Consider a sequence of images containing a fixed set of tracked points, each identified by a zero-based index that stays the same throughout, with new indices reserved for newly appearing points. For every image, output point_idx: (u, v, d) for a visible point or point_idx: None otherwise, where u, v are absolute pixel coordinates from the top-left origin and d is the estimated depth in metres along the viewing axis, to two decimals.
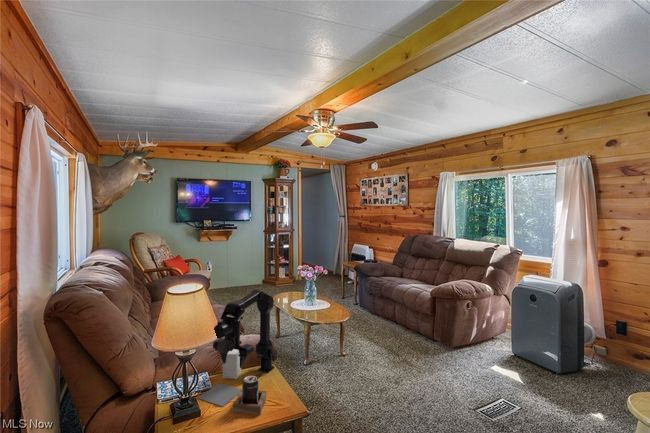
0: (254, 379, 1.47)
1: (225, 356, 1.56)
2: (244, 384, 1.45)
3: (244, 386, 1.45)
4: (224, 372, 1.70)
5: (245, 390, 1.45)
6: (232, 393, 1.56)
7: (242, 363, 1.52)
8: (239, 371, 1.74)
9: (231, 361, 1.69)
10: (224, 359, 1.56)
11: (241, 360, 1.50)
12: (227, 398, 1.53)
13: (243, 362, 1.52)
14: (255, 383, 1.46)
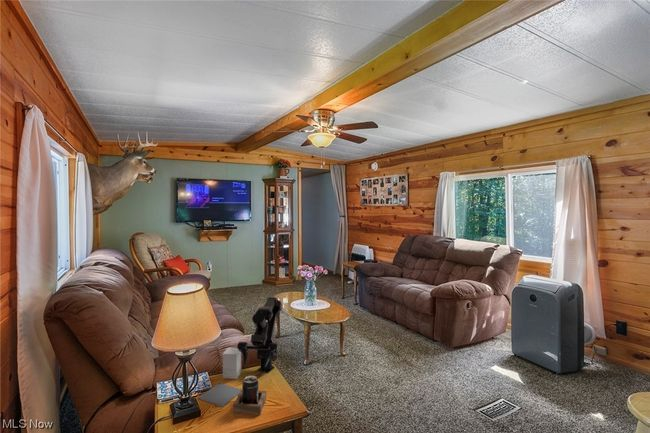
0: (254, 379, 1.47)
1: (246, 359, 1.58)
2: (244, 384, 1.45)
3: (244, 386, 1.45)
4: (224, 372, 1.70)
5: (245, 390, 1.45)
6: (232, 393, 1.56)
7: (267, 362, 1.57)
8: (239, 371, 1.74)
9: (231, 361, 1.69)
10: (245, 361, 1.57)
11: (268, 357, 1.57)
12: (227, 398, 1.53)
13: (267, 362, 1.57)
14: (255, 383, 1.46)
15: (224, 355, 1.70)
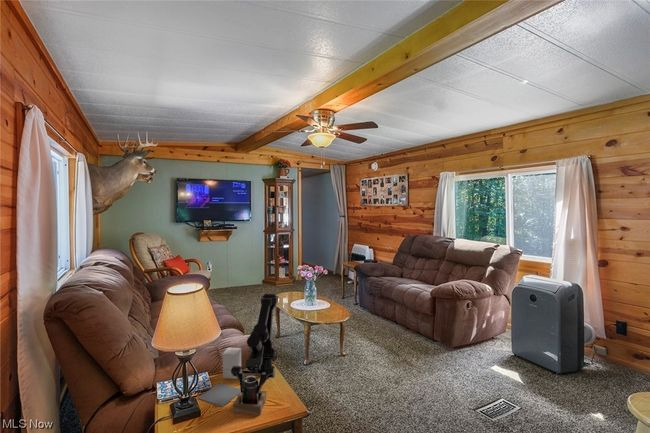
0: (254, 379, 1.47)
1: None
2: (244, 384, 1.45)
3: (244, 386, 1.45)
4: (224, 372, 1.70)
5: (245, 390, 1.45)
6: (232, 393, 1.56)
7: (260, 388, 1.48)
8: None
9: (231, 361, 1.69)
10: None
11: (261, 382, 1.48)
12: (227, 398, 1.53)
13: (260, 388, 1.48)
14: (255, 383, 1.46)
15: (224, 355, 1.70)
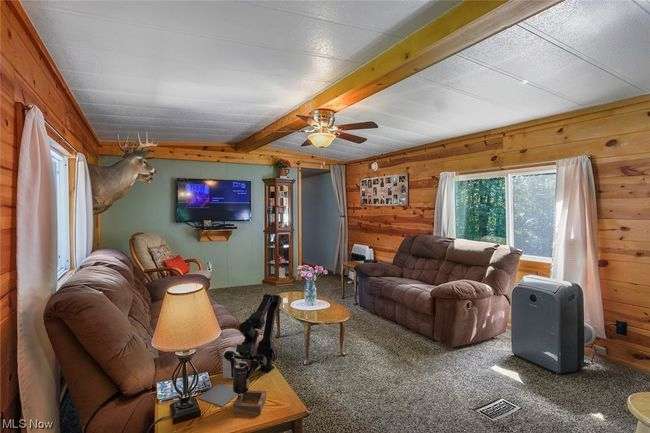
0: (244, 365, 1.48)
1: None
2: (234, 369, 1.47)
3: (233, 371, 1.46)
4: (224, 372, 1.70)
5: (235, 375, 1.46)
6: (232, 393, 1.56)
7: (250, 374, 1.48)
8: None
9: None
10: None
11: (251, 368, 1.48)
12: (227, 398, 1.53)
13: (251, 374, 1.49)
14: (245, 369, 1.47)
15: None
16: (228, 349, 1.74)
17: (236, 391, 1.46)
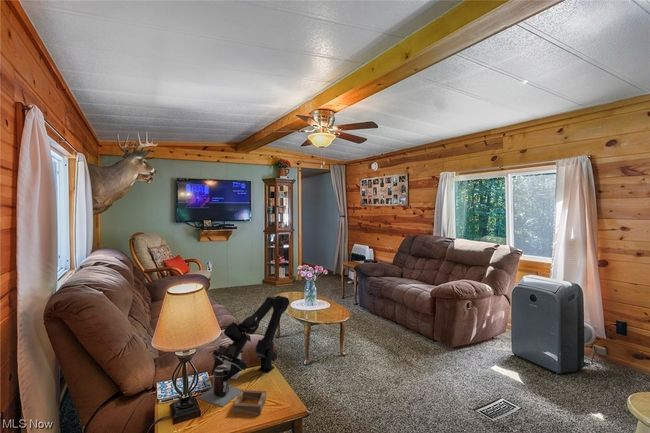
0: (223, 369, 1.54)
1: None
2: (214, 371, 1.55)
3: None
4: None
5: (213, 377, 1.54)
6: (232, 393, 1.56)
7: (228, 376, 1.53)
8: None
9: None
10: (214, 370, 1.58)
11: (230, 371, 1.53)
12: (227, 398, 1.53)
13: (230, 376, 1.53)
14: (222, 373, 1.53)
15: None
16: None
17: (214, 392, 1.54)
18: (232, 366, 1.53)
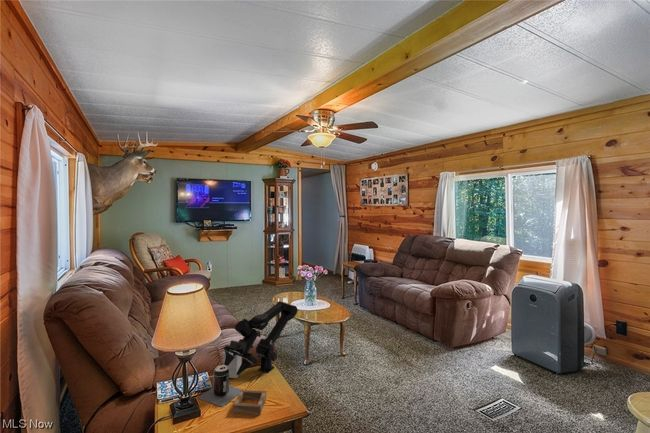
0: (223, 369, 1.55)
1: (228, 363, 1.64)
2: (214, 371, 1.55)
3: None
4: None
5: (214, 377, 1.54)
6: (232, 393, 1.56)
7: (240, 371, 1.58)
8: None
9: None
10: (226, 365, 1.63)
11: (241, 366, 1.58)
12: (227, 398, 1.53)
13: (241, 371, 1.58)
14: (222, 373, 1.53)
15: (224, 354, 1.70)
16: None
17: (214, 392, 1.54)
18: (244, 360, 1.58)
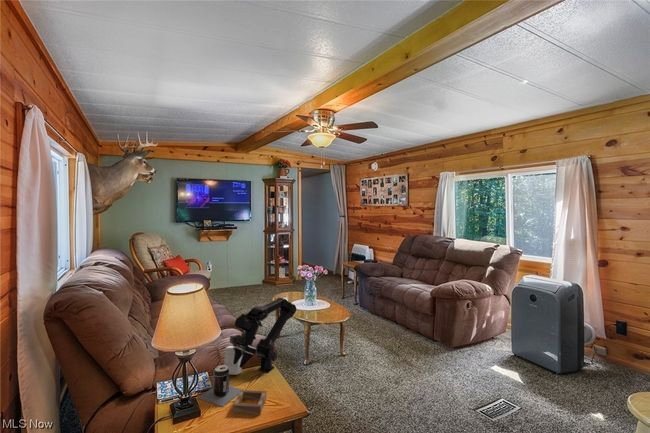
0: (223, 369, 1.55)
1: (237, 358, 1.68)
2: (214, 371, 1.55)
3: None
4: None
5: (214, 377, 1.54)
6: (232, 393, 1.56)
7: (242, 363, 1.59)
8: (240, 369, 1.74)
9: (233, 355, 1.72)
10: (235, 360, 1.67)
11: (242, 358, 1.59)
12: (227, 398, 1.53)
13: (244, 363, 1.60)
14: (222, 373, 1.53)
15: (227, 349, 1.73)
16: (230, 346, 1.78)
17: (214, 392, 1.54)
18: (242, 353, 1.59)
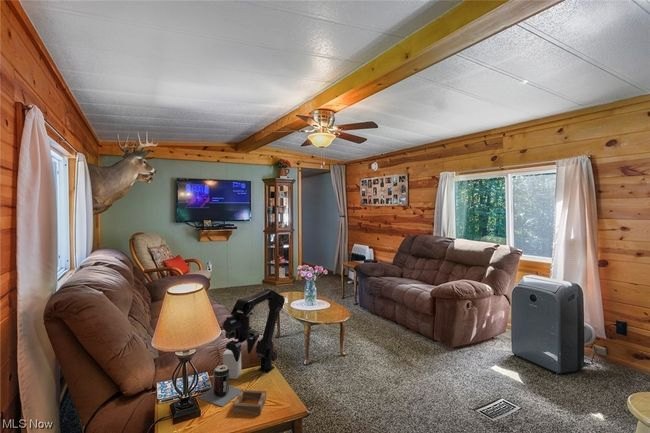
0: (223, 369, 1.55)
1: (250, 348, 1.69)
2: (214, 371, 1.55)
3: None
4: None
5: (214, 377, 1.54)
6: (232, 393, 1.56)
7: (235, 357, 1.60)
8: (239, 371, 1.74)
9: (231, 361, 1.69)
10: (248, 349, 1.69)
11: (233, 353, 1.60)
12: (227, 398, 1.53)
13: (236, 357, 1.60)
14: (222, 373, 1.53)
15: (224, 355, 1.69)
16: None
17: (214, 392, 1.54)
18: None
